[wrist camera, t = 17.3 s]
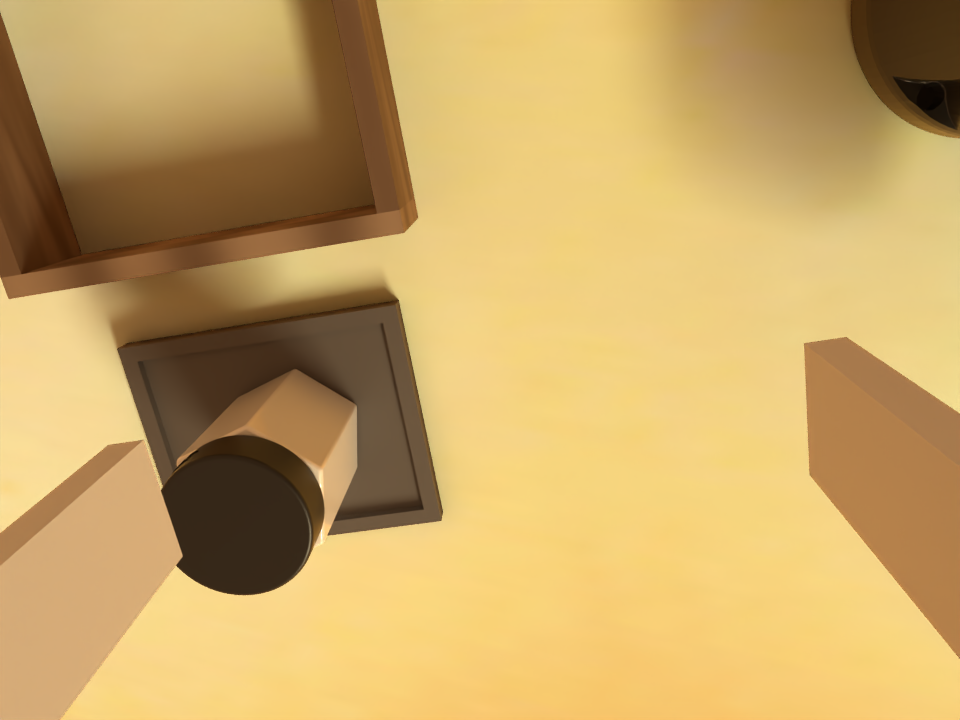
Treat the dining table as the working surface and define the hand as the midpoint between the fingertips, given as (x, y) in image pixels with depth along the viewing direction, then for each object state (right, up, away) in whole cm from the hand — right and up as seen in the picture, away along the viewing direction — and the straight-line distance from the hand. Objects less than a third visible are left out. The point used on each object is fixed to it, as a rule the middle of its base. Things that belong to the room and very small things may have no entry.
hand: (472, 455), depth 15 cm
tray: (-13, -3, +35) cm, 37 cm away
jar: (-12, -3, +34) cm, 36 cm away
